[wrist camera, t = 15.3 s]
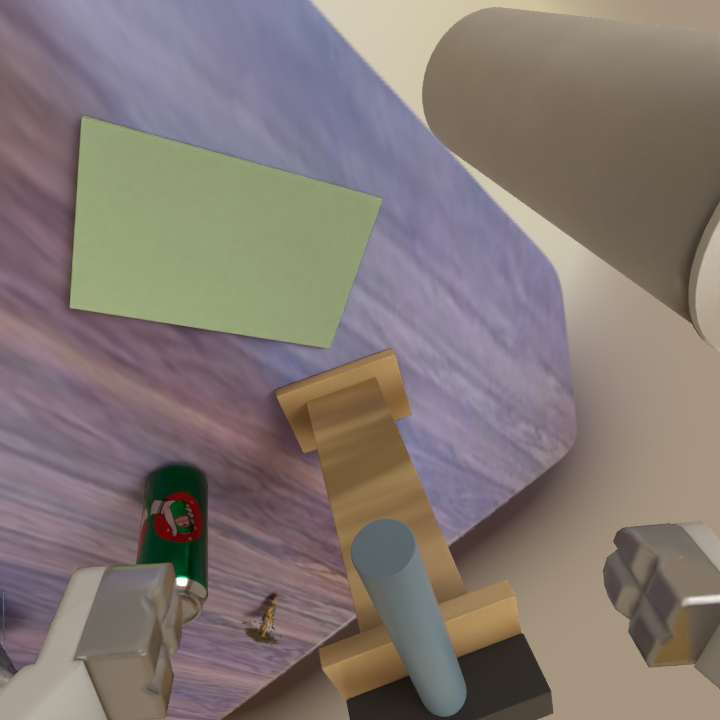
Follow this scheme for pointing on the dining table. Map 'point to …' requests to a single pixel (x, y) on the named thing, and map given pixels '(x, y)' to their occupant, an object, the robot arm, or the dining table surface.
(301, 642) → the dining table surface
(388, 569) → the hammer
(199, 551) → the soda can
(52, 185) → the dining table surface
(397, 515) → the stand
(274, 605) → the soldier figurine
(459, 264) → the dining table surface
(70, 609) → the robot arm
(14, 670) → the rock
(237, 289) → the mat
